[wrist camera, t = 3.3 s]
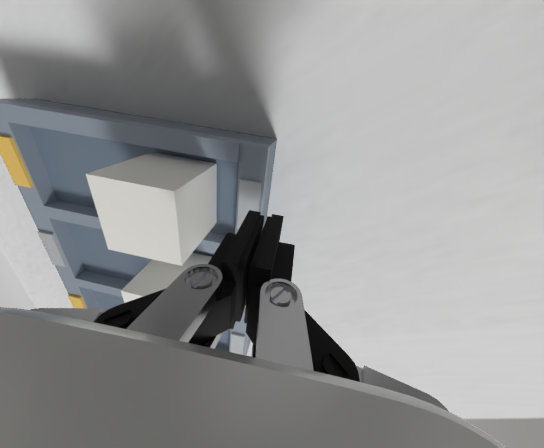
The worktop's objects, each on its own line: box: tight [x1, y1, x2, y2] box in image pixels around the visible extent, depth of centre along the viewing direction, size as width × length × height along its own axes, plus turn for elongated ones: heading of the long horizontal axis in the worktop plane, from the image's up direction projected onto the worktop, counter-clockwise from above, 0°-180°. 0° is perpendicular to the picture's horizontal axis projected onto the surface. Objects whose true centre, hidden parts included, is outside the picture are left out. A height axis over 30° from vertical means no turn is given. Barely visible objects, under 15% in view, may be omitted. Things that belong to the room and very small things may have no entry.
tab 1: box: [86, 152, 217, 266], centre depth 12 cm, size 4×4×4 cm
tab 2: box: [121, 253, 212, 303], centre depth 16 cm, size 4×4×4 cm
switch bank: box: [0, 99, 277, 356], centre depth 19 cm, size 17×21×3 cm
